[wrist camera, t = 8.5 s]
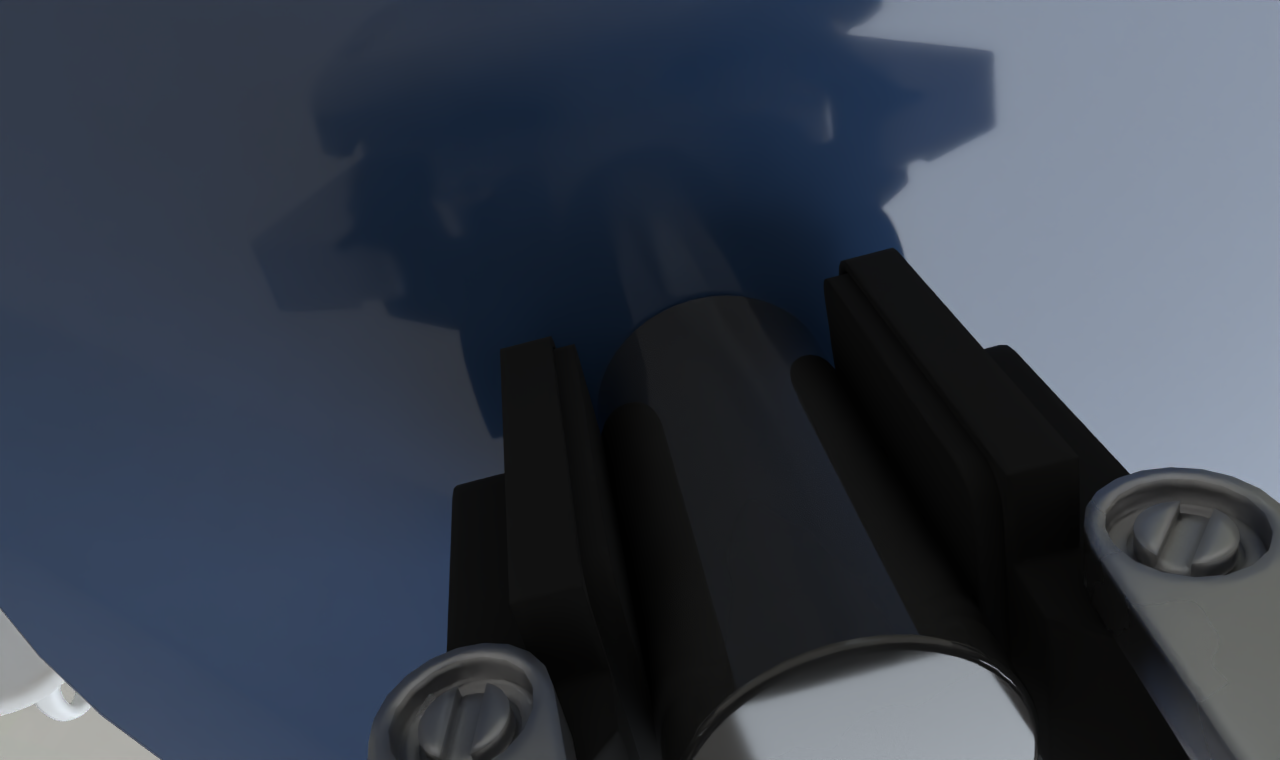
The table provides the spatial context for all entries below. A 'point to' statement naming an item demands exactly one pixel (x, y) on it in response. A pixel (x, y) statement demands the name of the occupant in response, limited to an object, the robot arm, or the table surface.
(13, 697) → the teacup
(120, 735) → the table surface
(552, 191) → the pot lid
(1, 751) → the table surface
